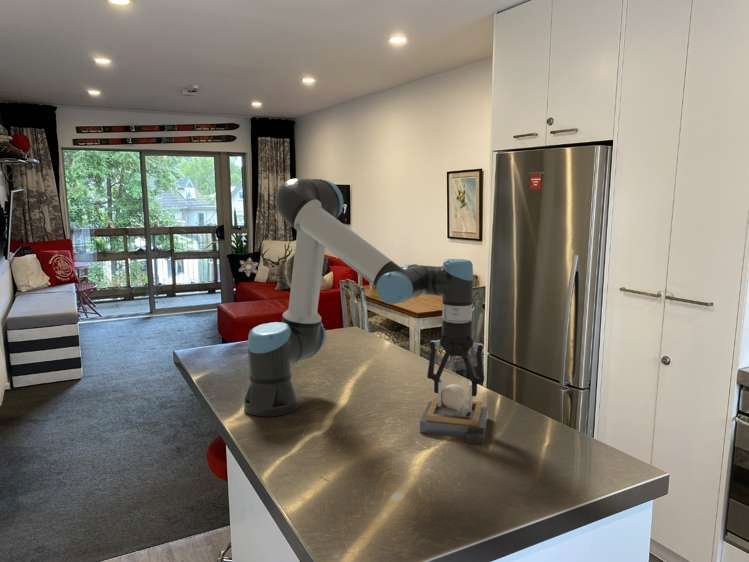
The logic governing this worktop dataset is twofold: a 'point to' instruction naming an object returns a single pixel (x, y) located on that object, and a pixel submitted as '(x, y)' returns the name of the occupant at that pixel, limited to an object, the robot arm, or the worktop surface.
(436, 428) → the grey brown-rimmed square tray
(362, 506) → the worktop surface
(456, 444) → the worktop surface
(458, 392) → the light bulb
